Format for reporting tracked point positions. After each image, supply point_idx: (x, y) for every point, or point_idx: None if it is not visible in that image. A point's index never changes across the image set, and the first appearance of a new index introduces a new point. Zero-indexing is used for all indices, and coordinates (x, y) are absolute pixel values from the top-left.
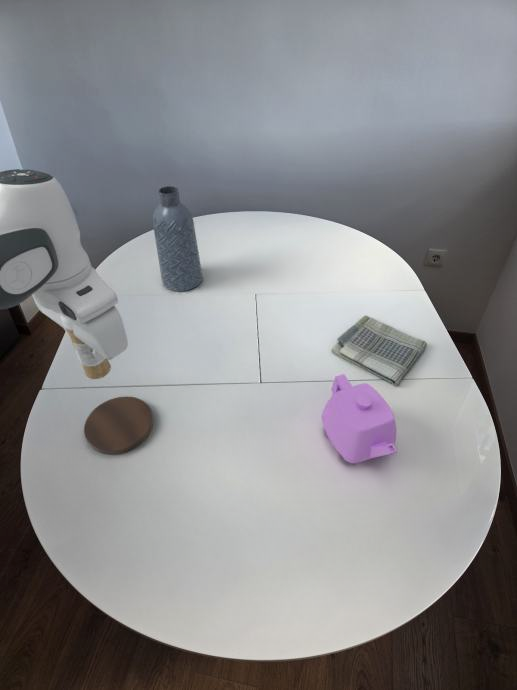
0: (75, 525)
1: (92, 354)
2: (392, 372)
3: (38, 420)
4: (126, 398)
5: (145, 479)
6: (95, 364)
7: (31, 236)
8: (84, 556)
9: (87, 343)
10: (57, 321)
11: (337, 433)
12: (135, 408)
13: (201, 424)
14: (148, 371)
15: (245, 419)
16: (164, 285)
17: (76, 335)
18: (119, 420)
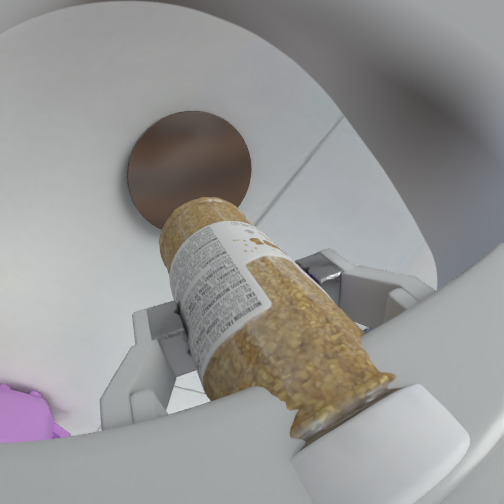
0: (64, 45)
1: (165, 324)
2: None
3: (297, 72)
4: None
5: (61, 167)
6: (171, 272)
7: None
8: (16, 49)
9: (84, 468)
10: (456, 313)
11: (4, 413)
12: None
13: (109, 286)
14: None
15: (88, 338)
16: (371, 328)
17: (239, 432)
18: (193, 177)
